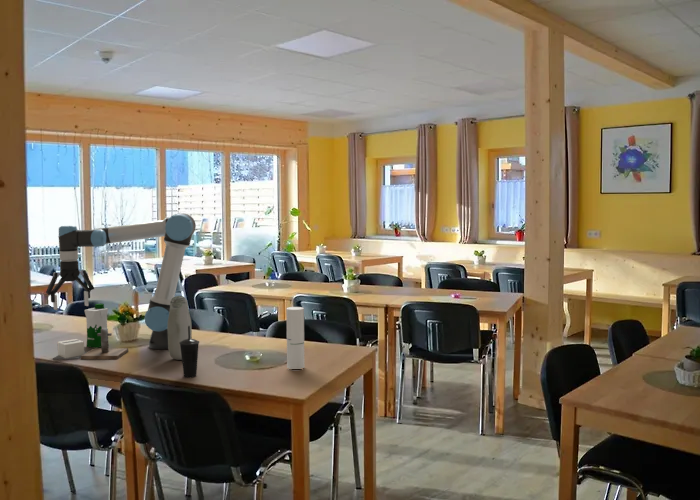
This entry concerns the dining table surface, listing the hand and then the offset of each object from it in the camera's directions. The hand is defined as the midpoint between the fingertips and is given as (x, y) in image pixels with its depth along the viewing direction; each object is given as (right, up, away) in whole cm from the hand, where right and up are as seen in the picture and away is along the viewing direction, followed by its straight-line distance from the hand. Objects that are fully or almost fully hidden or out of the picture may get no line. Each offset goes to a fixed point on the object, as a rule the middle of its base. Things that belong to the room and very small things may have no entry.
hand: (71, 307), depth 285 cm
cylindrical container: (+103, -23, -22) cm, 107 cm away
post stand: (+14, -22, +2) cm, 26 cm away
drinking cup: (+62, -24, -33) cm, 74 cm away
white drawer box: (0, -21, +1) cm, 21 cm away
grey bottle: (+51, -22, -6) cm, 56 cm away
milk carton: (+3, -21, +21) cm, 29 cm away
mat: (-1, -22, +1) cm, 22 cm away
